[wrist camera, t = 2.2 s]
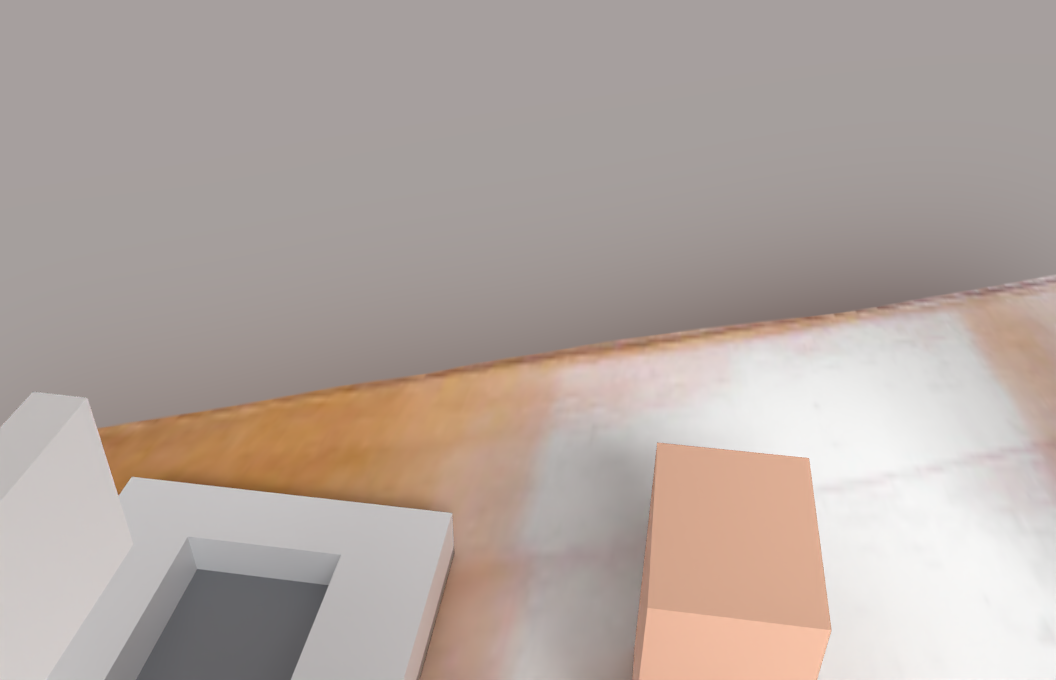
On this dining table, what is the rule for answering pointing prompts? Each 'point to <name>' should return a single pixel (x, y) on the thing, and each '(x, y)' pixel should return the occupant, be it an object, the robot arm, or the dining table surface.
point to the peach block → (731, 569)
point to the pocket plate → (264, 589)
